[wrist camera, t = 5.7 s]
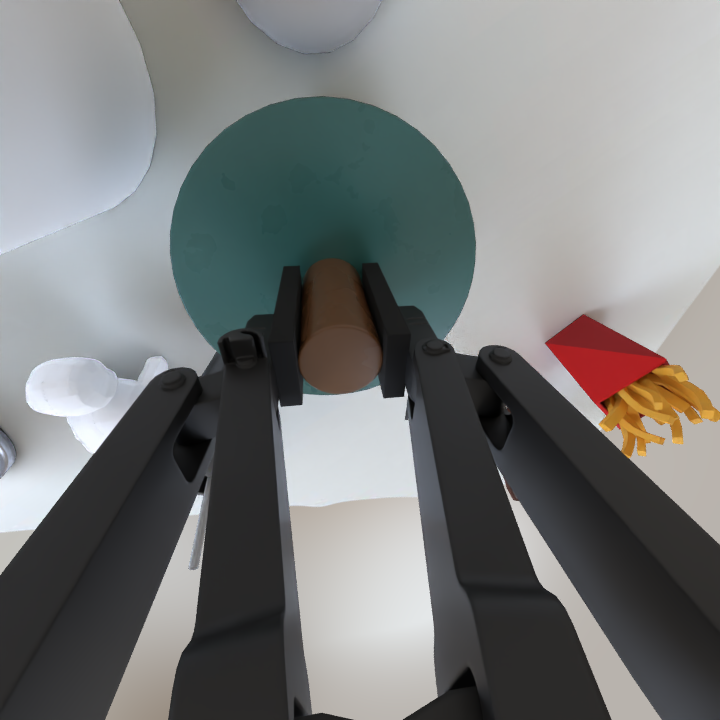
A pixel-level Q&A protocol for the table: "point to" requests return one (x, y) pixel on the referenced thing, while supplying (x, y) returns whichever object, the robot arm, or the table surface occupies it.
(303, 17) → the donut
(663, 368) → the french fries
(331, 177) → the tin lid
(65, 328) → the table surface
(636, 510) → the robot arm
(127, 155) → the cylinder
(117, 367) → the table surface
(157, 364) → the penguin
